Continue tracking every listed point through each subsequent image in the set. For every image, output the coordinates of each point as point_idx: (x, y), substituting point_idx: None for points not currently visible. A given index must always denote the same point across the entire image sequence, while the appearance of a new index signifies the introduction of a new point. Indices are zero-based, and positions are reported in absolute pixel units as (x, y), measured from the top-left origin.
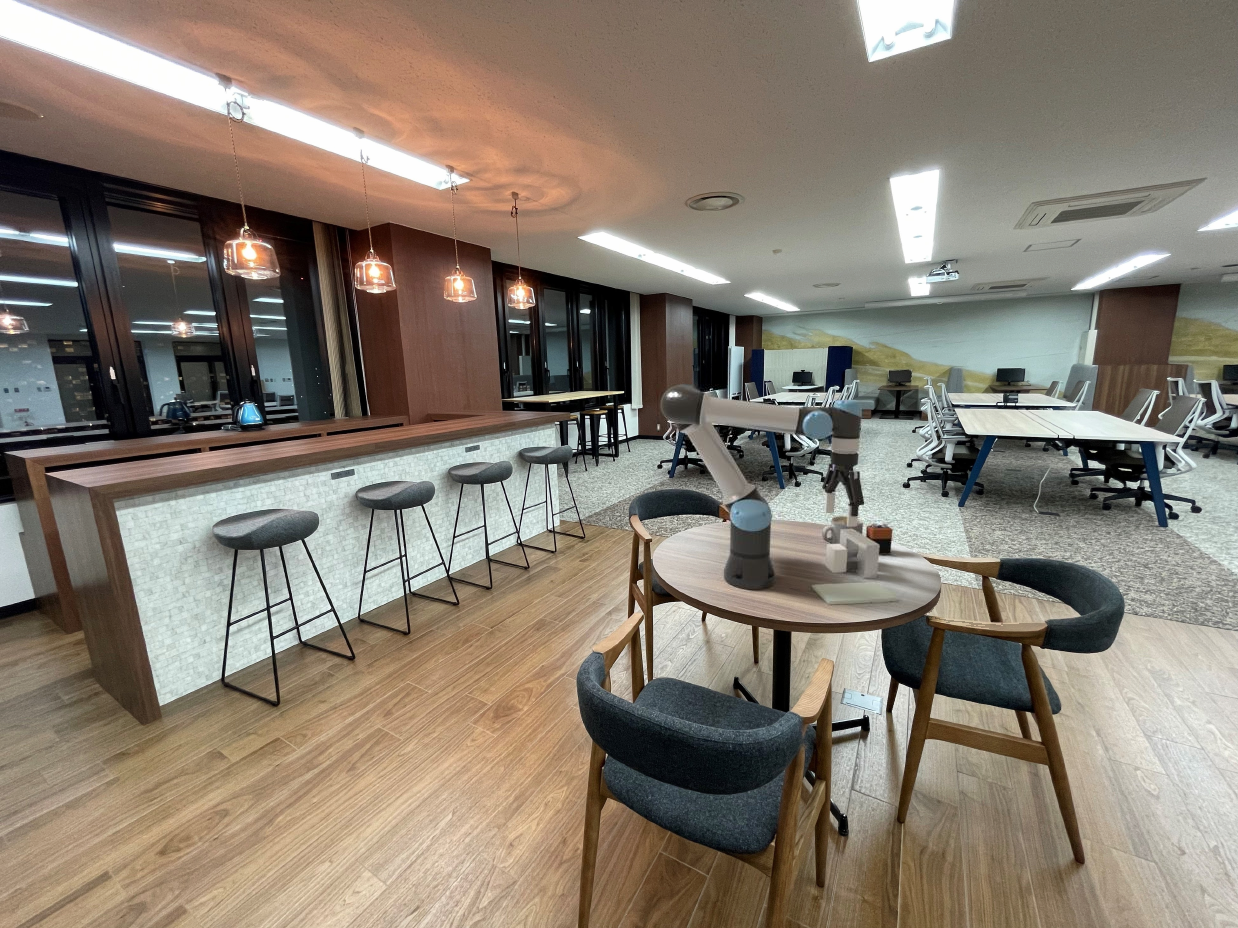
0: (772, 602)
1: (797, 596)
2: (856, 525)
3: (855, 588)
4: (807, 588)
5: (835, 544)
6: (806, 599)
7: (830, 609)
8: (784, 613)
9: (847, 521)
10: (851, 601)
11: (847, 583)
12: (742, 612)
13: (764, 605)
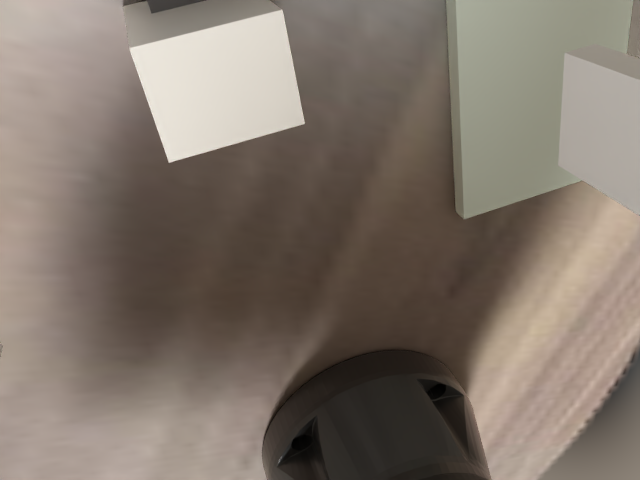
0: (550, 344)
1: (521, 270)
2: (601, 53)
3: (520, 11)
4: (457, 230)
5: (162, 89)
6: (548, 241)
7: None
8: (622, 309)
9: (609, 187)
10: None
11: (460, 39)
12: (591, 409)
13: (564, 364)
